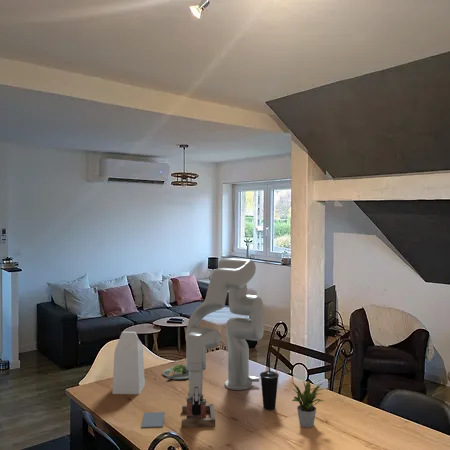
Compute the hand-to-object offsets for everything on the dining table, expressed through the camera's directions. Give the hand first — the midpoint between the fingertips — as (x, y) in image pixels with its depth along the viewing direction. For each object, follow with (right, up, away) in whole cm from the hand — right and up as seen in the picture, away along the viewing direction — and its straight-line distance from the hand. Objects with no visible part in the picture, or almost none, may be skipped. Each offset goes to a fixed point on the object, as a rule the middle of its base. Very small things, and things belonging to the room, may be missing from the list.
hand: (196, 411), depth 174 cm
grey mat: (-16, -3, -1) cm, 17 cm away
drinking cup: (+29, -3, +10) cm, 31 cm away
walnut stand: (0, -3, 0) cm, 3 cm away
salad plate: (-10, -3, +50) cm, 51 cm away
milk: (-33, -3, +30) cm, 44 cm away
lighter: (0, -3, 0) cm, 3 cm away
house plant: (+43, -3, -6) cm, 43 cm away
